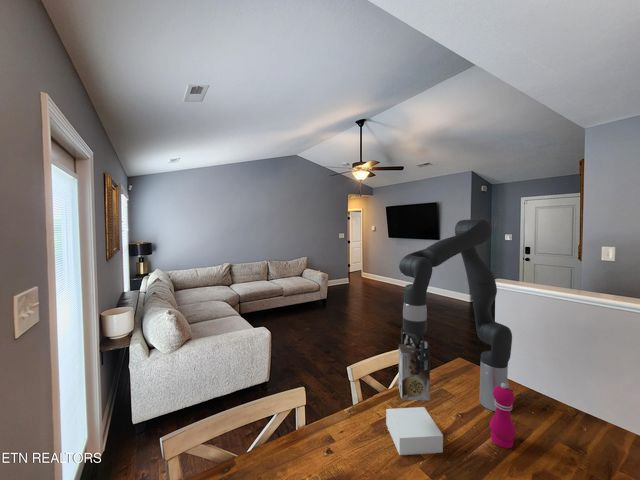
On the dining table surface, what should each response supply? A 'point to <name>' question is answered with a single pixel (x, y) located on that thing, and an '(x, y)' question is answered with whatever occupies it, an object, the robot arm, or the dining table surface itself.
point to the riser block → (414, 431)
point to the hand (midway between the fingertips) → (414, 364)
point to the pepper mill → (502, 417)
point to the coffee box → (413, 375)
